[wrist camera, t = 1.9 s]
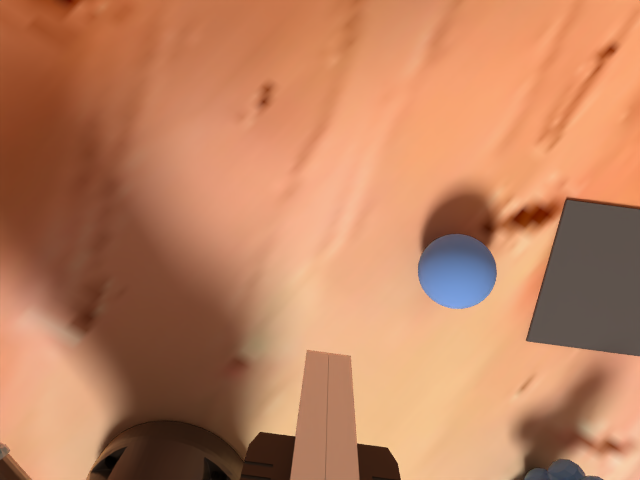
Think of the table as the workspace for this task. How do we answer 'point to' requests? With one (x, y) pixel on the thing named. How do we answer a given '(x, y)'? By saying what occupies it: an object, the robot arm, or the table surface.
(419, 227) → the table surface
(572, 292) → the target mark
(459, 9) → the table surface
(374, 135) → the table surface
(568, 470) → the grapes
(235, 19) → the table surface
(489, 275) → the ball
